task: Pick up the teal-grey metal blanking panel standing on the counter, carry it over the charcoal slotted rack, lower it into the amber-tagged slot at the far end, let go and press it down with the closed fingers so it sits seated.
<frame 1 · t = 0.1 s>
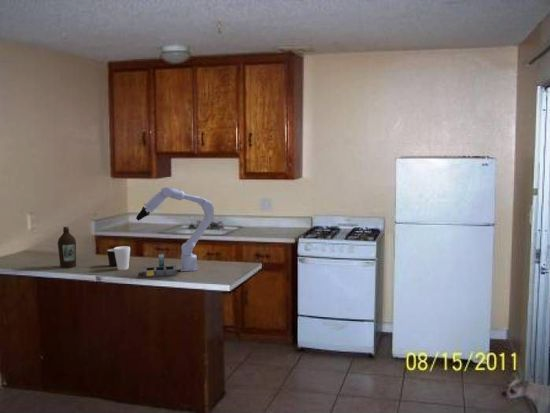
hand: (137, 218, 334), 32 cm above the countertop, tool tilted 50°, fingers open, 7 cm apart
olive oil: (68, 267, 357), on the countertop
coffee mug: (117, 265, 358), on the countertop
panel: (161, 268, 347), on the countertop
foam cup: (123, 269, 348), on the countertop
rack: (160, 273, 333), on the countertop
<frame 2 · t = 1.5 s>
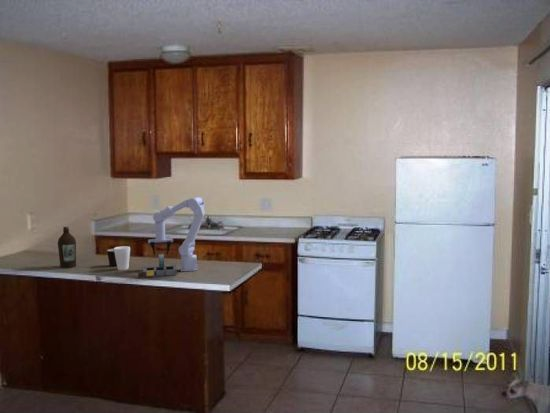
hand: (161, 254, 346), 9 cm above the countertop, tool pointing down, fingers open, 7 cm apart
nothing on the countertop moved.
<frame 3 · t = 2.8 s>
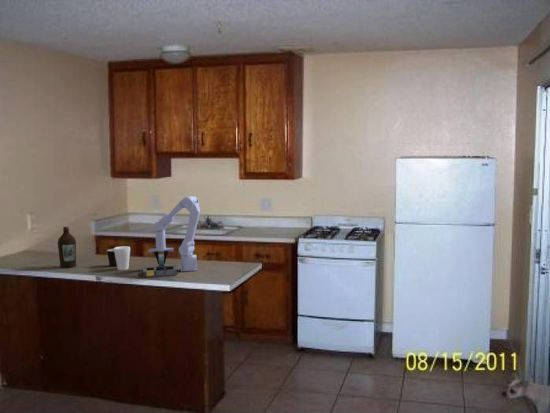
hand: (161, 263, 347), 3 cm above the countertop, tool pointing down, fingers closed on panel, 3 cm apart
panel: (161, 268, 347), on the countertop, touching gripper
everything else where it was.
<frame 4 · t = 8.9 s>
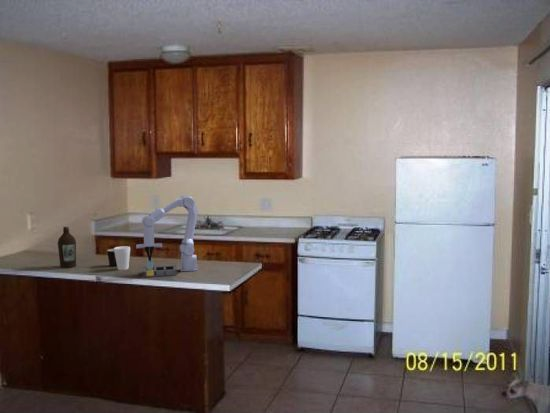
hand: (149, 259, 331), 8 cm above the countertop, tool pointing down, fingers closed, pressing on panel
panel: (150, 273, 332), resting on rack, touching gripper
everything else where it was.
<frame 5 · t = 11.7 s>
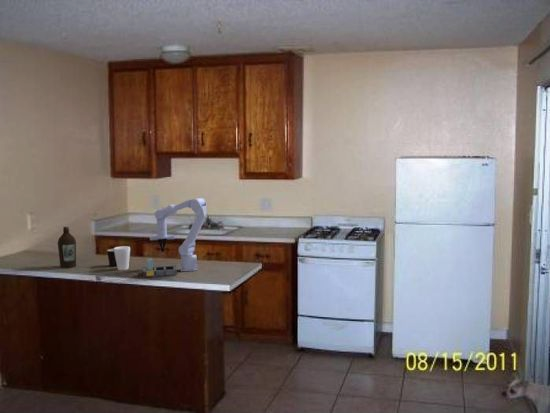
hand: (162, 251, 346), 10 cm above the countertop, tool pointing down, fingers closed
panel: (150, 273, 332), resting on rack
everything else where it was.
at the end: panel 0.1 cm from the target spot on the rack, point 0.5 cm above the rack's base; panel tilted 0°; the gripper is holding nothing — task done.
